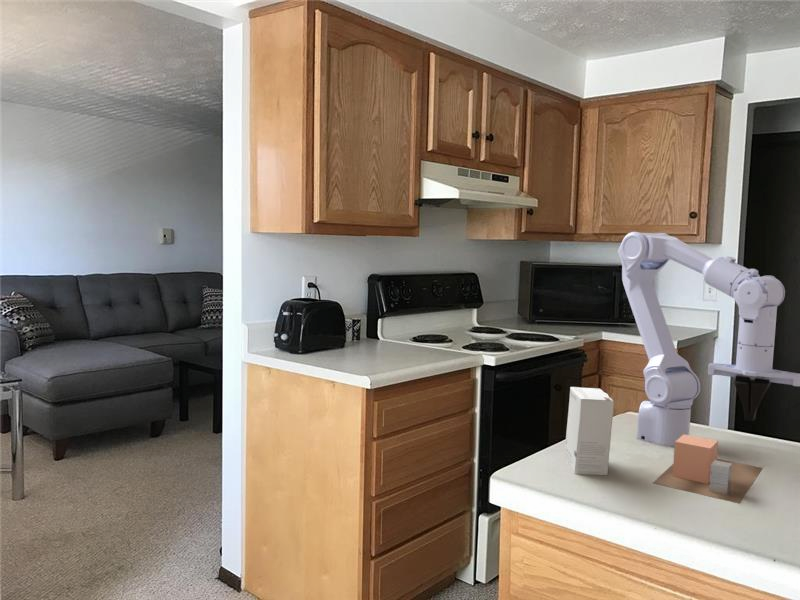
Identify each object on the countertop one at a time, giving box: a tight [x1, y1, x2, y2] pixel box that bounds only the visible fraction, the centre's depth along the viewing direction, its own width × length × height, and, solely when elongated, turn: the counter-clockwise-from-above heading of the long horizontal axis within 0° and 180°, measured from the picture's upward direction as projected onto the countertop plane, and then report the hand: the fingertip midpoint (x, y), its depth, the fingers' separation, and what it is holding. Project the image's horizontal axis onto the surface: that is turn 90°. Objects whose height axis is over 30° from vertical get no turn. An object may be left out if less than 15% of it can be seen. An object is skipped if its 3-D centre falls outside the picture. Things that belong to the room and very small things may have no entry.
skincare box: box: [563, 386, 615, 476], centre depth 117 cm, size 8×6×15 cm
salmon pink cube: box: [672, 434, 719, 484], centre depth 114 cm, size 6×6×6 cm
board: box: [652, 458, 763, 504], centre depth 115 cm, size 13×21×2 cm, turn 143°
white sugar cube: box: [709, 460, 732, 495], centre depth 107 cm, size 3×3×4 cm
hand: (749, 419), depth 119 cm, fingers closed
